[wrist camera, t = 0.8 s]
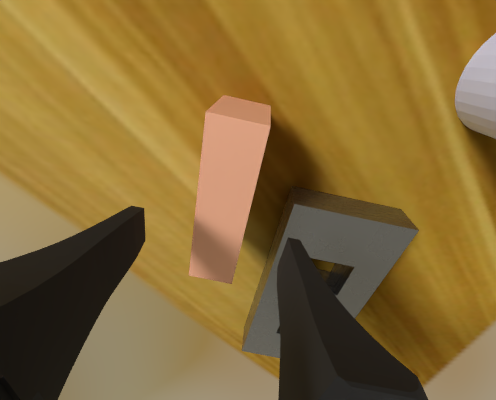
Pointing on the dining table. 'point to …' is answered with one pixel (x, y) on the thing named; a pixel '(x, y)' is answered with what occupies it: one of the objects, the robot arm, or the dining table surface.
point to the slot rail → (329, 255)
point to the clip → (227, 184)
